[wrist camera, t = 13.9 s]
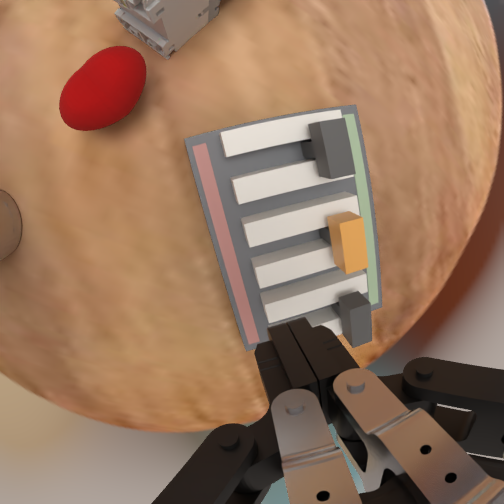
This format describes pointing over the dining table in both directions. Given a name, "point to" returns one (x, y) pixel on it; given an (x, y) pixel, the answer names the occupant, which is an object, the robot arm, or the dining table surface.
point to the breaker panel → (289, 220)
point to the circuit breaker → (166, 21)
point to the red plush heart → (103, 89)
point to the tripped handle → (346, 241)
